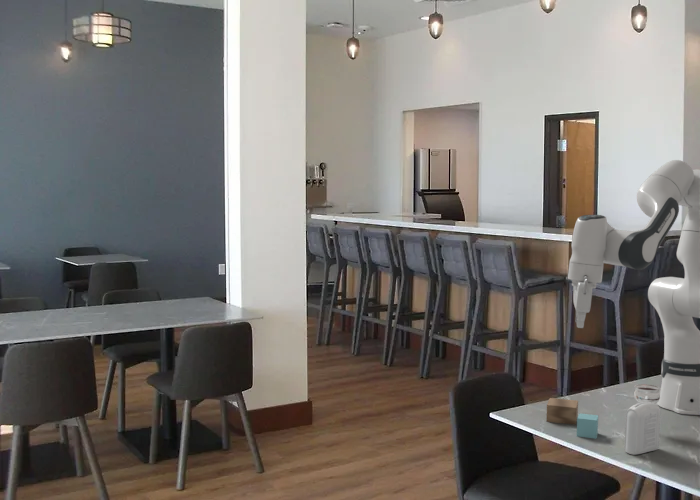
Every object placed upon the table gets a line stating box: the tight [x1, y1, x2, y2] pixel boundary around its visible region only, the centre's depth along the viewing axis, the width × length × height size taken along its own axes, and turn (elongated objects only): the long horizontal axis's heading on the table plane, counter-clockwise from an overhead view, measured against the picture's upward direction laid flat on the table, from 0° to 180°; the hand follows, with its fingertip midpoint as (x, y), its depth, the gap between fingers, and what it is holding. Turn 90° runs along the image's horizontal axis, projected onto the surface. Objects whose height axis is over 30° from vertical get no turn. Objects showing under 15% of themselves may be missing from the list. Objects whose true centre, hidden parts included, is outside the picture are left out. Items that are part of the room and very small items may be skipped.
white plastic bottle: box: [624, 402, 662, 456], centre depth 200 cm, size 10×4×12 cm, turn 123°
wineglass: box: [633, 383, 661, 404], centre depth 217 cm, size 7×7×12 cm
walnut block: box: [545, 397, 579, 426], centre depth 227 cm, size 8×8×5 cm
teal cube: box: [576, 412, 599, 439], centre depth 213 cm, size 5×5×5 cm
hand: (579, 325), depth 214 cm, fingers open, 8 cm apart
